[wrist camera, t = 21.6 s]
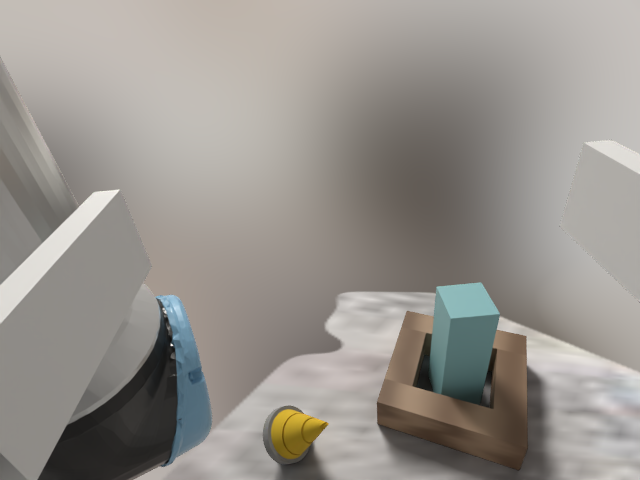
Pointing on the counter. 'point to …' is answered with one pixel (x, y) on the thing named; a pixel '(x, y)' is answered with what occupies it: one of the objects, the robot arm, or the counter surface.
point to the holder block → (453, 414)
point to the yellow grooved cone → (290, 434)
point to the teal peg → (462, 341)
